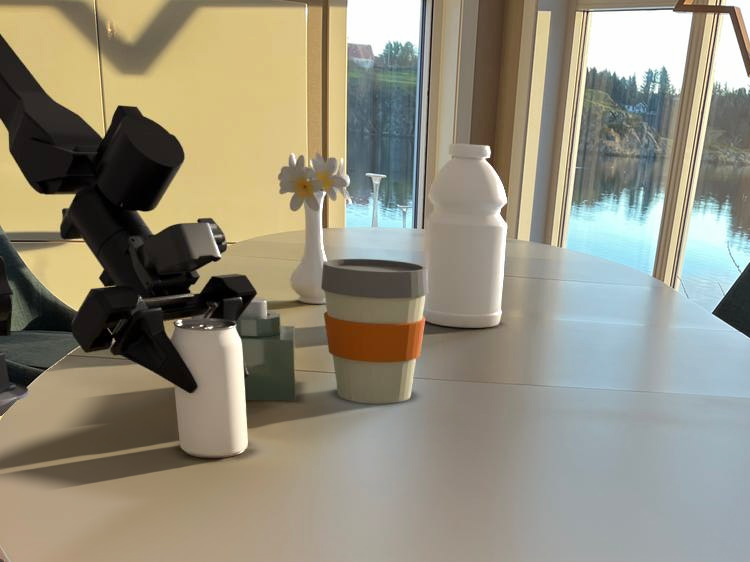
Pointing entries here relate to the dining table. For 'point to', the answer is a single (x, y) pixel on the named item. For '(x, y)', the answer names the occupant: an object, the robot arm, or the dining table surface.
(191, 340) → the can
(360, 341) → the reusable coffee cup
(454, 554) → the dining table surface
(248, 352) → the button housing
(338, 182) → the flower vase
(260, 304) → the white button cap
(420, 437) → the dining table surface
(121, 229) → the robot arm
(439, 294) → the bottle
